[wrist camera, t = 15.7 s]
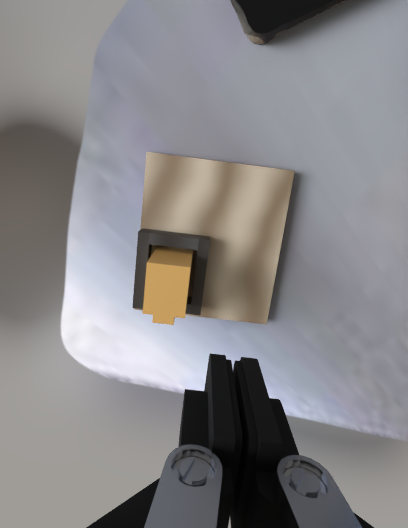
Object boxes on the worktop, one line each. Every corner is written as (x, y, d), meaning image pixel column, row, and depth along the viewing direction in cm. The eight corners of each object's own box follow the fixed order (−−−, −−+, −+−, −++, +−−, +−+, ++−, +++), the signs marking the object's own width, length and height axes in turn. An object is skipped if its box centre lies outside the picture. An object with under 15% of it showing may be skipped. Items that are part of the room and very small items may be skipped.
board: (291, 171, 38) (301, 170, 34) (264, 319, 42) (270, 333, 39) (148, 152, 37) (142, 150, 34) (136, 304, 42) (129, 317, 38)
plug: (193, 249, 39) (190, 267, 31) (187, 297, 40) (183, 325, 32) (158, 245, 39) (146, 262, 31) (153, 293, 40) (141, 321, 32)
